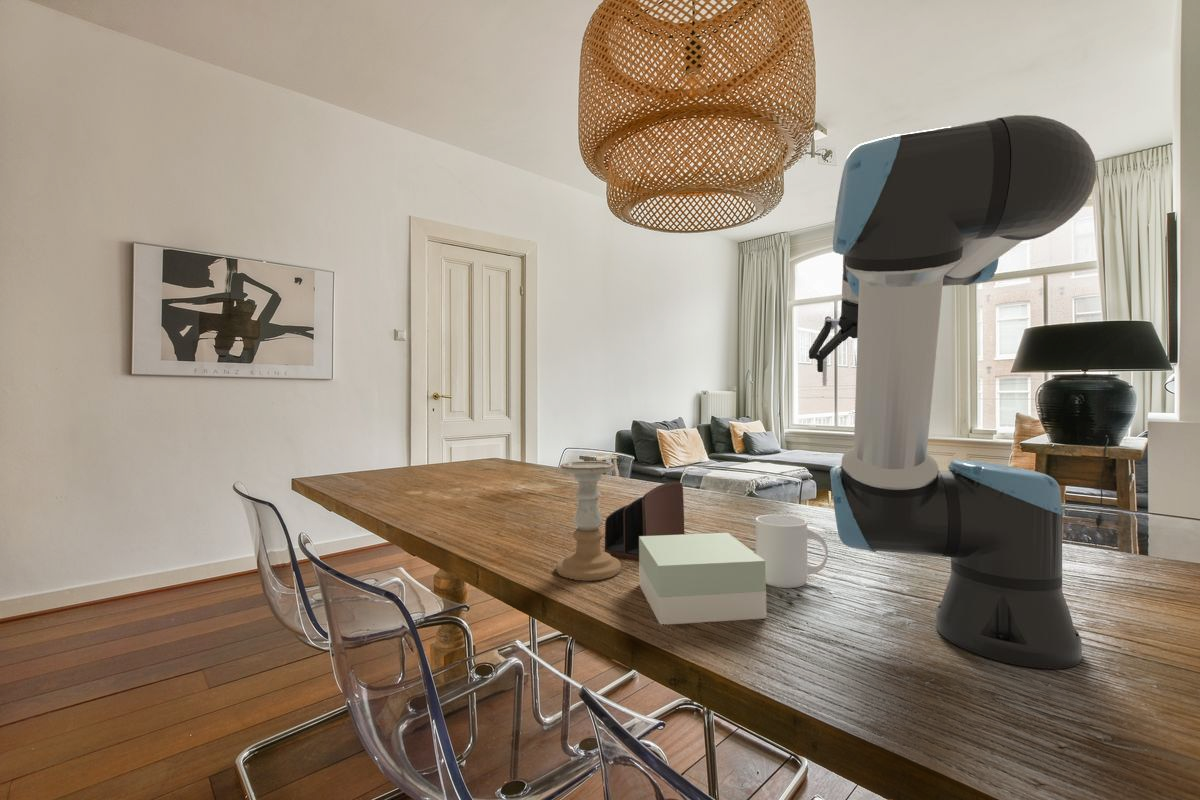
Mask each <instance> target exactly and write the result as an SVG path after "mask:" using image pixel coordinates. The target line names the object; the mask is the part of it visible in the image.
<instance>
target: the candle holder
mask: <svg viewBox="0 0 1200 800" xmlns="http://www.w3.org/2000/svg"><path fill="white" fill-rule="evenodd" d="M559 468H560V471H561V472H563V473H566V474H573V475H572V476H573V478H574V479H575V480H576V481H577V483H578V490H577V491H576V492H575V493H574V497H575V498H576V499H577V505H576V506H577V507H576V510H575V514H574V517H573V524H574V525H575V527H576V528H575V531H574V532H573V533H572V537H573V538H574V539H575V541H576V548H575V551H572V552H570V553H568V554H567V555H566V556H564V557H562V558H561V559H559V560H558V561H557V563H556V567H555V568H556V572H557V574H558V575H559V576H561V577H563V578H566V579H568V578H569V579H568V580H572V579H574V580H573V581H580V580H581V581H582V582H583V581H585V582H588V581H589V582H590V581H591V582H593V580H594V581H601V580H607V579H609V578H613V577H614V576H617V575H618V574H619V573H620V572H621V569H622V564H621V561H620V560H619V559H618V558H617V557H616V556H611V555H610V554H609V553H607V552H605V550H604V551H603V550H602V548H601V540H602V539H603V537H605V532H604V531H602V529H601V528H600V527H601V525H602V524H603V516H602V513H601V510H600V505H599V499H600V498H601V496H602V494H601V492H600V491H599V490H598V487H597V485H598V481H600V479H601V478H602V474H606V473H610V472H613V471H614V470H615V469H616V465H615V463H613V462H610V461H609V462H608V461H601V460H600V461H599V460H598V461H597V460H584V461H583V460H582V461H581V460H580V461H570V462H564V463H561V464H560V466H559Z"/></svg>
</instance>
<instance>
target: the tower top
mask: <svg viewBox="0 0 1200 800" xmlns="http://www.w3.org/2000/svg"><path fill="white" fill-rule="evenodd" d="M639 562H640V564H641V566H642V568H643V570H644V571H645V573H646V575H647V577H648V579H649V580H650V582H651V584H652V586H653V588H654V589H655V591H656V593H657V595H658V597H668V596H687V595H706V594H725V593H744V592H763V591H766V592H767V590H766V589H767V588H766V587H767V584H766V576H765V560H764V559H762V558H761V557H760V556H758V555H757V554H756V552H754V551H753V550H751V549H750V548H749V547H747V545H745V544H743V543H742V542H741V541H739V540H738V539H737V538H736V537H735V536H733V535H732V534H730V533H729V532H716V533H715V532H714V533H711V532H710V533H693V534H692V533H688V534H684V535H660V536H639V560H638V563H639Z"/></svg>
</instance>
